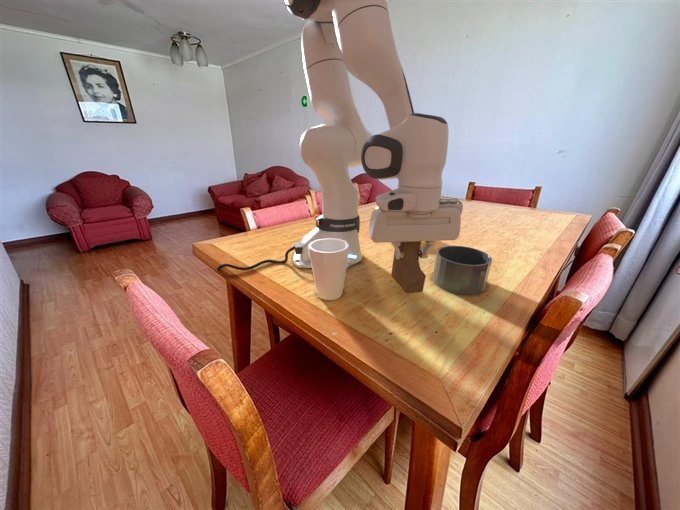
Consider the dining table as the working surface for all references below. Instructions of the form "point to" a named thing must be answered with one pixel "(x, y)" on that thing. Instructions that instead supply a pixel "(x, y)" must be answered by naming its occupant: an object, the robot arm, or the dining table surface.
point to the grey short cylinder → (461, 269)
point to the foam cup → (329, 266)
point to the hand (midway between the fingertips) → (410, 257)
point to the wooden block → (408, 268)
